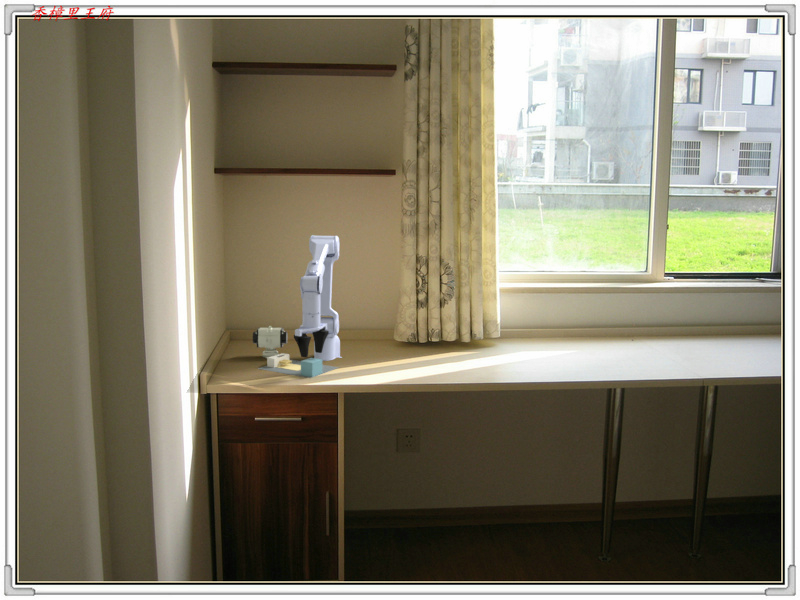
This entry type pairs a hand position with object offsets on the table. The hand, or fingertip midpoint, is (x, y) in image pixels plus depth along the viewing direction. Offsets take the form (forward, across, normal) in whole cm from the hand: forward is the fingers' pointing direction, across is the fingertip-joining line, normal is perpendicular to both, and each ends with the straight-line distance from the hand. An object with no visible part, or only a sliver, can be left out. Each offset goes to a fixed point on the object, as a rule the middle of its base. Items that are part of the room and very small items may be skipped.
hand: (311, 354), depth 223 cm
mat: (+7, -4, -8) cm, 12 cm away
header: (+6, -4, -16) cm, 17 cm away
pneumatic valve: (+7, -11, -26) cm, 30 cm away
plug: (+6, 0, 0) cm, 7 cm away
